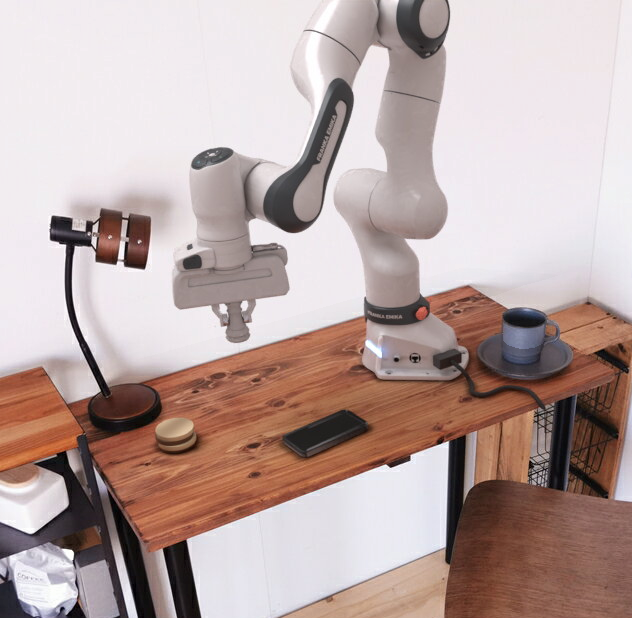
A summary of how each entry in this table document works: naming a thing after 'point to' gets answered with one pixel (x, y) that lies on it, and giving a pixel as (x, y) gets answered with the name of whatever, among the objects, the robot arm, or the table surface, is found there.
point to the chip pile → (175, 435)
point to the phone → (325, 433)
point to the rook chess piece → (236, 324)
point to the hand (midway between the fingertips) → (236, 323)
